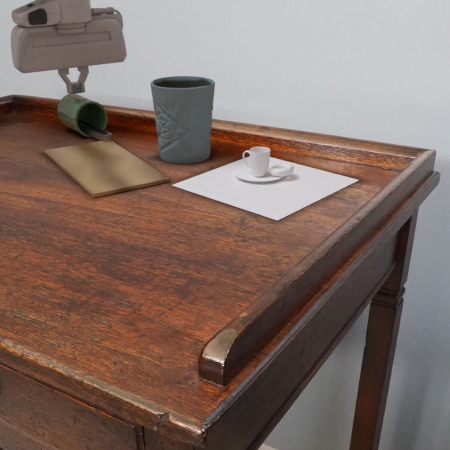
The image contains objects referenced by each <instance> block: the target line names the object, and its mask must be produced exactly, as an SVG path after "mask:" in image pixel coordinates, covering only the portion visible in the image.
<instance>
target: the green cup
mask: <svg viewBox="0 0 450 450" xmlns="http://www.w3.org/2000/svg"><path fill="white" fill-rule="evenodd" d="M56 109H57V110H56V115H57V117H58V119H59V121H60V123H61V124H62V125H63V126H65V127H66V128H68V129H70V130H72V131H74V132H76V133H77V134H79V135H81V136H83V137H85V138H94V137H93V136H91V135H89V134H87V133H85V132H83V131H81V130H80V128H79V127H78V124H77V121H78V122H80V119H83V120H85V121H87V122H89V123H91V124H94V125H96V126H98V127H100V128H102V129H104V130H106V128H107V125H108V122H109V118H108V112H107V110H106V109H105V107H104V105H102V104H101V103H100V102H98V101H96V100H93V99H91V98H89V97H86V96H84V95H82V94H79V93H76V94H68V93H67V94H65V95H64V96H63V97H62V98H61V99H60V100H59V102H58V104H57V107H56Z"/></svg>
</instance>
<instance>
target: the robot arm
mask: <svg viewBox="0 0 450 450" xmlns="http://www.w3.org/2000/svg"><path fill="white" fill-rule="evenodd" d="M11 20H12V22H13V23H14V24H16V25H15V26H13V28H12V29H11V33H10V51H11V59H12V64H13V67H14V68H15V69H16V70H17V71H19V72H20V73H22V74H32V73H39V72H46V71H47V72H49V71H57V74H58V76H59V77H60V78H61V79H62V81H63V82H64V84H65V88H66V93H67V95H68V94H83V93H86V86H85V83H86V81H87V78H88V76H89V73H90V69H89V67H92V66H100V65H108V64H118V63H124V61H125V60H126V58H127V56H128V54H127V45H126V40H125V36H124V32H123V29H124V18H123V15H122V13H121V12H120V11H119V10H118V9H115V7H112V6H107V7H94V8H93V7H92V4H91V0H33V1H31V2H28V3H26V4H24V5H22V6H19V7H17V8H15V9H13V10H12V11H11ZM75 68H76V69H77V72H79V75H78V79H77V81H71V80H70V78H69V77H68V76H69V75H70V69H75Z"/></svg>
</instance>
